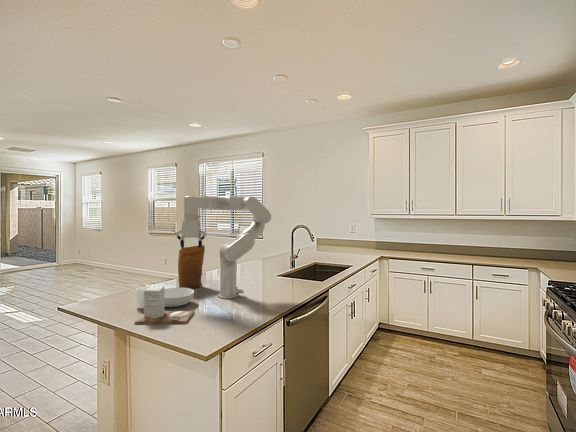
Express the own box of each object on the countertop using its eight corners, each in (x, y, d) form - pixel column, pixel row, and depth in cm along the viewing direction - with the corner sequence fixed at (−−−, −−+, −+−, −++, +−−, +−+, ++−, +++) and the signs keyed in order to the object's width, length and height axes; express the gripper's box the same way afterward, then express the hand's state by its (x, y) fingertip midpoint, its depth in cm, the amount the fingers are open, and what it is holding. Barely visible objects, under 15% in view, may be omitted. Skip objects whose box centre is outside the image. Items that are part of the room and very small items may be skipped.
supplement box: (149, 311, 148) (149, 286, 148) (165, 311, 149) (165, 286, 149) (143, 317, 141) (143, 290, 141) (159, 316, 142) (159, 290, 141)
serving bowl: (170, 313, 150) (170, 300, 150) (145, 306, 161) (145, 293, 161) (202, 303, 168) (202, 290, 168) (177, 297, 179) (177, 285, 179)
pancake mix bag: (207, 286, 203) (207, 245, 202) (179, 292, 190) (179, 247, 189) (202, 284, 208) (202, 244, 207) (175, 289, 194) (175, 246, 194)
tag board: (194, 313, 151) (194, 309, 151) (186, 323, 137) (186, 320, 137) (147, 313, 150) (147, 310, 150) (134, 324, 136) (134, 320, 136)
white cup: (155, 305, 163) (155, 286, 163) (143, 309, 156) (143, 290, 156) (143, 303, 166) (143, 285, 166) (132, 308, 158) (132, 289, 158)
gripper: (207, 217, 176) (207, 246, 176) (177, 217, 175) (177, 246, 176) (204, 217, 168) (205, 248, 169) (173, 217, 168) (173, 248, 168)
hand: (191, 247), depth 172 cm, fingers open, 9 cm apart
